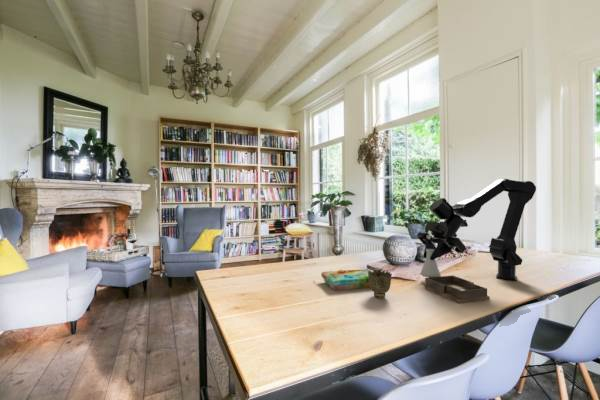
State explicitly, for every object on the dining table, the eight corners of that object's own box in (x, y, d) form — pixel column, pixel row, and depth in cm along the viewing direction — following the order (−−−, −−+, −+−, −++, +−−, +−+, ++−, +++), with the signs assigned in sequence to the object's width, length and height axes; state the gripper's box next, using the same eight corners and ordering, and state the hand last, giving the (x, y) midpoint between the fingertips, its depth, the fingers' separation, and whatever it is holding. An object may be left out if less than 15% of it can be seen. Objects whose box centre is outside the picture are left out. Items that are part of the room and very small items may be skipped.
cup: (378, 302, 88) (379, 276, 87) (363, 295, 94) (363, 271, 94) (396, 298, 91) (396, 273, 91) (380, 291, 98) (380, 268, 97)
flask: (439, 273, 110) (439, 248, 110) (442, 279, 103) (442, 251, 103) (419, 272, 112) (419, 247, 112) (420, 277, 105) (420, 250, 105)
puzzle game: (321, 270, 108) (368, 266, 114) (321, 282, 108) (368, 278, 114) (333, 279, 97) (384, 274, 102) (333, 292, 97) (384, 287, 103)
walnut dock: (425, 287, 101) (425, 277, 101) (452, 285, 105) (452, 275, 104) (458, 303, 87) (458, 291, 87) (489, 299, 90) (489, 288, 90)
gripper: (420, 212, 117) (398, 240, 114) (459, 215, 100) (435, 249, 96) (434, 230, 120) (414, 258, 117) (475, 236, 103) (452, 269, 99)
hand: (427, 258), depth 107 cm, fingers closed on flask, 3 cm apart
